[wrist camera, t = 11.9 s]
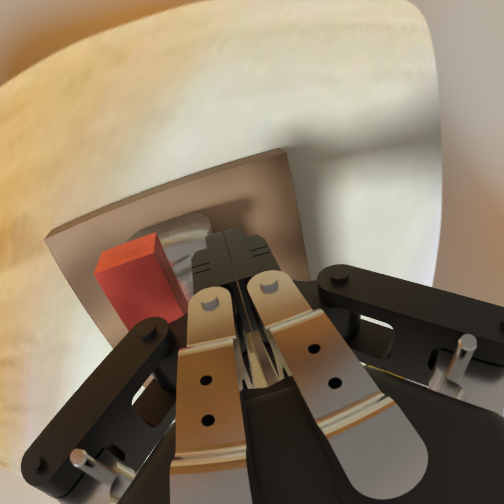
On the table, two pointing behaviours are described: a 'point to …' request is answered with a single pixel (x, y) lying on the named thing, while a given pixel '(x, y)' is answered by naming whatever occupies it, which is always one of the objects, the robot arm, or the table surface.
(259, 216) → the walnut board
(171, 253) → the valve body
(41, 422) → the table surface
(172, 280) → the valve lever
